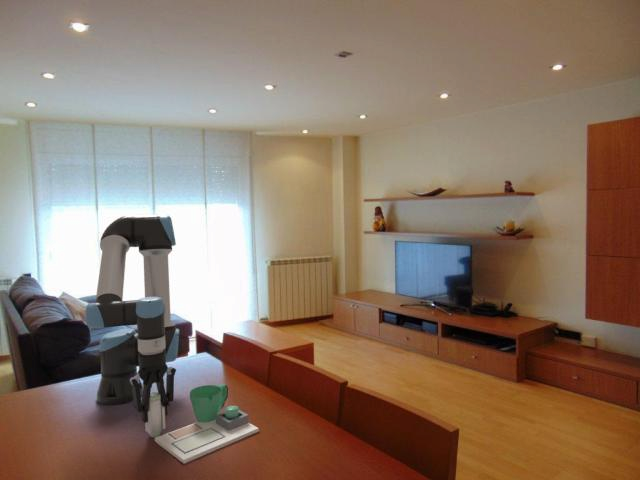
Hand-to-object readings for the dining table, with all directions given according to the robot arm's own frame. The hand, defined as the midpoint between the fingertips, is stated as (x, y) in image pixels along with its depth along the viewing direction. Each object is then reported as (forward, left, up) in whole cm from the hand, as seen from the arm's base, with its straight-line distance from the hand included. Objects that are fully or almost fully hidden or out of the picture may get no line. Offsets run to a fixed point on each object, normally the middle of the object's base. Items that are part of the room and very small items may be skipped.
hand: (155, 429), depth 136 cm
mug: (+2, +17, -2) cm, 18 cm away
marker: (0, 0, -2) cm, 2 cm away
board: (+12, +10, -2) cm, 16 cm away
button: (+12, +19, +1) cm, 22 cm away
